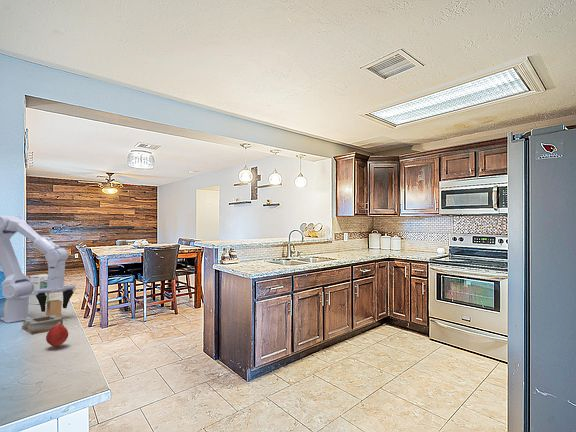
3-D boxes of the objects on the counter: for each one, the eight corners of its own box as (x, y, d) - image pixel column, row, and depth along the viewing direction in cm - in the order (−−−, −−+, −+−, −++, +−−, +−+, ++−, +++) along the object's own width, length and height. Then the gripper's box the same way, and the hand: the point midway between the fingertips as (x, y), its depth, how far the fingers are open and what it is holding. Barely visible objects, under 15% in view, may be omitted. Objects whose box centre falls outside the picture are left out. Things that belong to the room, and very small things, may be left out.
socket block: (21, 328, 121) (22, 319, 121) (52, 322, 129) (53, 314, 129) (31, 334, 114) (32, 324, 115) (63, 328, 123) (64, 318, 123)
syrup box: (37, 304, 158) (39, 275, 159) (28, 304, 159) (30, 275, 160) (48, 302, 163) (50, 274, 164) (39, 301, 165) (41, 273, 165)
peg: (45, 320, 132) (46, 301, 132) (56, 318, 135) (58, 299, 136) (49, 322, 130) (50, 302, 130) (60, 320, 133) (61, 301, 133)
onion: (43, 351, 99) (45, 325, 99) (47, 345, 104) (49, 321, 104) (66, 349, 102) (67, 323, 102) (68, 343, 107) (70, 319, 107)
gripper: (38, 279, 125) (36, 314, 124) (79, 276, 137) (77, 308, 136) (32, 278, 129) (30, 311, 129) (72, 274, 141) (70, 305, 140)
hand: (54, 309), depth 133 cm, fingers open, 7 cm apart
